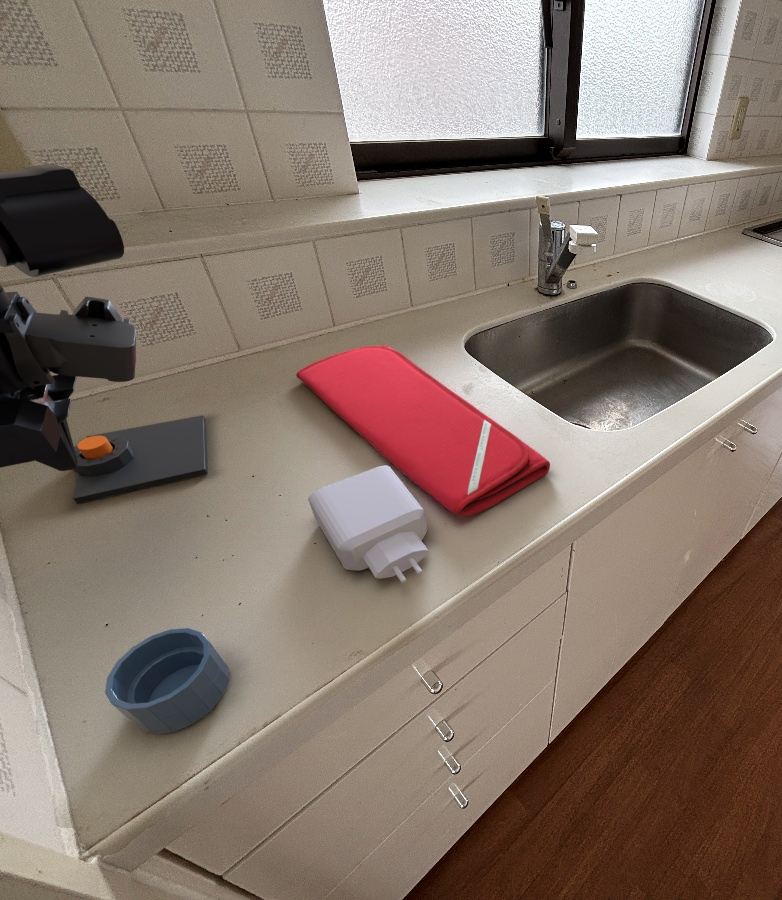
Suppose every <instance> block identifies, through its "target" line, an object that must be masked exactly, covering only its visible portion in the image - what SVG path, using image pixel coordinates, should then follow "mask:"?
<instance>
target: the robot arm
mask: <svg viewBox="0 0 782 900" xmlns="http://www.w3.org/2000/svg"><path fill="white" fill-rule="evenodd" d="M124 244H125V243H124V240H123V238H122V235H121V233H120V230H119V228H118V226H117V224H116V222H115V221H114V220H113V219H112V218H109V216H108V214H107V213H106V212H105V210H104V209H103V207H102V206H101V205H100V203H99V202H98V201H97V199H95V197H93V195H92V194H90V193H89V192H88V191H87V190H86V189H85V188H84V187H83V186H81V184H80V182H79V179H78V177H77V175H76V174H75V172H74V171H73V169H70V168H68V167H65V166H62V165H59V164H55V163H48V164H38V165H37V164H36V165H33V166H30V167H28V168H23V169H17V170H16V169H15V170H7V171H0V267H3V268H8V267H12V266H14V267H15V268H16V269H17V270H19V271H20V272H21V273H23V274H24V275H27V276H28V277H32V278H37V277H42V276H46V275H51V274H55V273H60V272H65V271H69V270H70V271H71V270H74V269H79V268H82V267H88V266H91V265H96V264H101V263H105V262H110V261H115V260H119V259H122V258H123V257H124V255H125V245H124ZM136 363H137V328H136V326H135V325H133V324H131V319H129V318H122V316H121V315H120V313H119V312H118V310H117V309H116V307H115V306H114V305H113V303H112V302H111V300H110V299H107V298H99V297H93V296H84V298H83V299H81V301H80V302H79V303H78V305H77V306H76V307H75V308H74V310H73V311H72V314H69V311H68V310H65V309H60V312H59V313H57V314H55V313H47V312H37V310H35V308H34V306H33V305H32V303H31V302H30V300H29V299H28V298H27V297H26V296H21V295H20V294H19V292H18V291H5V288H4V287H3V285H1V284H0V469H1V468H6V467H11V466H16V465H21V464H27V463H30V462H31V463H32V462H38V463H40V464H42V465H45V466H47V467H49V468H52V469H54V470H57V471H60V472H65V471H66V472H67V471H70V470H71V471H72V469H75V468H77V463H78V460H77V457H76V453H75V449H74V447H75V445H74V441H73V439H72V434H71V431H70V428H69V423H68V420H67V418H68V417H69V412H70V408H71V405H72V398H70V397H71V396H72V395H73V393H74V392H75V387H76V382H77V377H78V378H89V379H103V380H107V381H108V382H115V383H126V382H130V381H133V380H134V379H135V378H136V365H137V364H136ZM52 373H53V374H54V375H53V374H52Z"/></svg>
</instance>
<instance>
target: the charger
mask: <svg viewBox="0 0 782 900" xmlns="http://www.w3.org/2000/svg"><path fill="white" fill-rule="evenodd" d="M307 501H308V503H309V506H310V509H311V511H312V514H313V517H314V519H315V521H316V522H317V524H318V526H319V527H320V529H321V531H322V533H323V534H324V536H325V538H326V540H327V541H328V543H329V545H330V546H331V548H332V550H333V551H334V553H335V555H336V557H337V558H338V560H339V562H340V563H341V565H342V567H343V568H344V570H346V571H363V570H366V569H369V570H370V571H371V573H372V574H373V576H374V578H375V579H379V580H380V579H381V580H382V579H385V578H391V577H395V576H396V577H397V578H398V580H399V581H400V583H406V581H407V578H406V576H405V575H404V574H403V572H405V571H407V570H409V569H411V568H413V569H414V571H415V573H416V574H418V575H420V574H422V573H423V569H422V568H421V567H420V566H419V564H418V563H420V562H421V561H422V560H423V559H424V558H425V557H426V556H427V554H428V553H429V551H430V550H429V549H428V548H427V546H426V545H425V543H424V542H423V539H424V538H425V536H426V534H427V532H428V523H427V518H426V511H425V509H424V508H423V507H422V506H421V504H420V503H419V501H418V500H417V499H416V497H414V496H413V494H412V493H411V492H410V491H409V489H408V488H407V487H406V485H405V484H404V483H403V481H402V480H401V479H400V477H398V475H397V474H396V473H395V471H394V470H393V469H392V467H390V465H379V466H376V467H373V468H370V469H368V470H365V471H363V472H360V473H358V474H355V475H353V476H349V477H347V478H344V479H342V480H339V481H336V482H334V483H331V484H329V485H325V486H323V487H321V488H319V489H317V490H315V491H313V492H312V493H311V494H309V495H308V497H307Z"/></svg>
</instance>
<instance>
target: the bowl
mask: <svg viewBox="0 0 782 900" xmlns="http://www.w3.org/2000/svg"><path fill="white" fill-rule="evenodd" d="M229 683H230V668H229V666H228V665H227V663H226V662H225V661H224V659H223V658H222V656H221V655H220V654H219V653H218V651H217V650H216V649H215V647H214V646H213V644H212V643H211V642H210V641H209V639H208V638H207V637H206V636H205V634H204V633H203V632H201V631H199V630H195V629H192V628H190V627H185V628H171V629H167V630H164V631H161V632H159V633H156V634H153V635H150V636H149V637H147V638H145V639H144V640H141V641H140V642H138V643H137V644H135V645H133V646H132V647H131V648H130V649H129V650H128V651H126V652H125V653H124V654H123V655H122V656H121V657H120V658H119V659H118V660H117V661H115V664H114V665H113V667H112V669H111V670H110V672H109V674H108V675H107V677H106V682H105V690H104V694H105V696H106V697H107V699H108V701H109V703H110V704H111V705H112V706H113V707H114V708H116V710H118V711H119V712H120V713H121V714H122V715H124V716H125V717H126V718H127V719H128V720H130V721H131V722H132V724H134V725H135V726H136V727H137V728H139V729H140V730H142V731H145V732H148V733H151V734H155V735H157V734H168V733H173V732H176V731H179V730H181V729H184V728H186V727H190V726H191V725H193V724H195V723H196V722H198V721H199V720H201V719H202V718H203V717H205V716H206V715H207V714H209V713H210V712H211V711H212V710H213V709H214V708H215V707H216V705H217V704H218V703H219V702H220V701H221V699H222V698H223V697H224V695H225V693H226V690H227V688H228V686H229Z"/></svg>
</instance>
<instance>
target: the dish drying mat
mask: <svg viewBox="0 0 782 900" xmlns="http://www.w3.org/2000/svg"><path fill="white" fill-rule="evenodd" d="M295 376H296V377H297V379H298V380H300V381H301V382H302V383H303V384H304V385H305V386H306V387H307V388H309V389H310V390H311V391H312V392H313V393H314V394H316V395H317V396H318V398H320V399H321V400H322V401H323V403H324V404H325V405H327V407H329V408H330V409H331V410H332V411H333V412H334V413H335V414H336V415H338V416H339V417H340V418H341V419H342V420H343V421H344V422H345V423H347V424H348V426H349V427H351V428H352V429H353V430H354V431H355V432H356V433H357V434H359V436H361V437H362V438H363V439H364V440H366V441H367V442H368V443H369V444H370V445H371V446H372V447H373V448H375V450H376V451H377V452H378V453H379V454H380V455H382V456H383V457H384V458H385V459H386V460H387V461H389V463H391V464H392V465H393V466H394V467H396V468H397V469H398V470H399V471H400V472H401V473H402V474H404V476H406V477H407V478H408V479H409V480H411V481H412V482H413V483H415V484H416V485H417V486H418V487H419V488H421V489H422V490H423V491H424V492H426V493H427V494H428V495H429V496H430V497H431V498H433V499H434V500H436V502H438V503H439V504H440V505H442V507H444V508H445V509H447V510H448V511H450V512H451V513H453V514H455V515H456V516H457V517H469V516H473V515H475V514H479V513H481V512H483V511H485V510H487V509H489V508H492V507H493V506H495V505H496V504H499V503H500V502H501V501H503V500H505V499H507V498H508V497H511V496H512V495H514V494H515V493H517V492H518V491H520V490H522V489H524V488H526V487H527V486H529V485H531V484H532V483H534V482H535V481H537V480H540V479H541V478H543V477H544V476H546V475H547V474H548V473H549V471H550V468H551V462H550V460H548V459H546V457H544V456H543V455H542V454H541V453H540V452H538V451H536V450H535V449H534V448H532V447H531V446H530V445H528V444H527V443H525V442H524V441H523V440H521V439H520V438H519V437H518V436H516V435H514V434H513V433H512V432H511V431H509V430H508V429H506V428H505V427H504V426H502V425H500V424H499V423H498V422H496V421H495V420H493V419H492V418H491V417H489V416H488V415H487V414H485V413H484V412H482V411H481V410H479V409H478V408H477V407H475V406H474V405H473V404H471V403H470V402H469V401H467V400H466V399H464V398H463V397H461V396H460V395H458V394H457V393H455V392H454V391H453V390H451V389H450V388H448V386H445V385H444V383H443V384H442V383H441V382H440V381H439V380H437V379H436V378H435V377H433V376H432V375H430V374H429V373H428V372H426V371H425V370H424V369H422V368H421V367H419V366H418V365H417V364H415V363H414V362H413V361H412V360H411V359H409V358H408V357H407V356H405V355H404V354H403V353H402V352H400V351H399V350H396V349H393V348H392V347H390V346H388V345H387V344H383V345H365V346H361V347H357V348H352V349H347V350H345V351H343V352H338V353H335V354H333V355H329V356H327V357H324V358H322V359H319V360H316V361H315V362H312V363H310V364H308V365H306V366H304V367H302V368H301V369H299V370H298V371H297V372H296V374H295Z"/></svg>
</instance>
